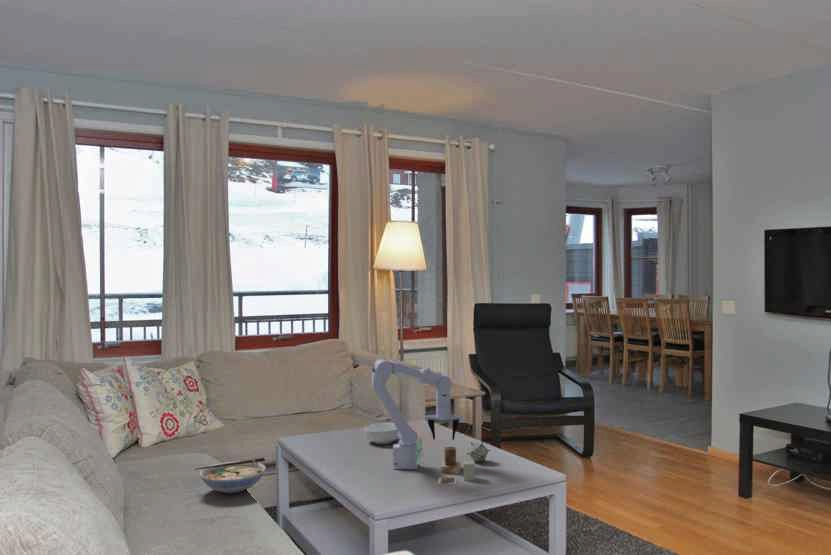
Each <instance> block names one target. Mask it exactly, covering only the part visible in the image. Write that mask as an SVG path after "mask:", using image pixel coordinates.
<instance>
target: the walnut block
mask: <svg viewBox="0 0 831 555" xmlns="http://www.w3.org/2000/svg"><path fill="white" fill-rule="evenodd" d="M444 461H445V465H446V466H449V465H456V461H457V449H456V446H445V447H444Z"/></svg>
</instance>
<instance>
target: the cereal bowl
mask: <svg viewBox="0 0 831 555" xmlns="http://www.w3.org/2000/svg"><path fill="white" fill-rule="evenodd" d="M363 431H364V432H363V433H364V435H365V437H366V439H367V440H369V441H370V442H373V443H375V444H377V445H389V444H391V443H393V442H394V441H396V440H398V439H400V438H399V437H398V434H397V429H396V427H395V425H394V423H393V422H378V423H372V424H368V425H366V426H365V427H364V428H363Z"/></svg>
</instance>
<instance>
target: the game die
mask: <svg viewBox="0 0 831 555" xmlns="http://www.w3.org/2000/svg"><path fill="white" fill-rule="evenodd" d="M470 444H471V445H470V448H469V451H468V452H466V455H469V456H470V458H471V459H472V461H475V463H476V462H485V463H487V460H486V459H487V456H488V452H491V449H488V448H487V447H486V446H485V444H484V443H483V440H481V442H474V443H473V442H472V441H471V442H470Z"/></svg>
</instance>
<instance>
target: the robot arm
mask: <svg viewBox="0 0 831 555" xmlns="http://www.w3.org/2000/svg"><path fill="white" fill-rule="evenodd" d="M399 373H400V374H403V375H407V376H411V377H414V378H416V379H417V380H418V382H419V383H421V384H425V385H427V386H430V387H433V388H435V408H436V409H435V412H436V414H430V415H424V421H425V422H427V424H428V427H429V429H430V432H431V435H432V440H436V434H435V433H436V432H435V430H436V429H435V424H436V423H435V422H452V434H451V435H452V440H453V441H454V440H455V436H456V433H457V432H456V431H457V428H458V427H459V424H460V422H462V420H463V419H462V415H458V414H451V388H452V386H453V382H452V380H451V378H450V377H449V376H447V375H446V374H443V373H442V372H439V371H438V372H436V371H433V370H431V368H429V367H426V368H425V367H424V368H421V369H417V368H414V367H412V366H409V365H406V364H404V363H401V362H398V361H394V360H390V359H387V360H386V359H384V358H378V359H376V360H375V361H374V363H373V364H372V368H371V388H372V390H373V392H374V394H375V396H376V397H377V398H378V400H379V401H380V403H381V405H382V407H383V408H384V411H386V413H387V416H389V418H390V420H391V423H394V425H395V427H396V429H397V434H398V437H399V438H398V439H399V441H398V443H395V444H393V445H392V448H393V449H392V469H393V470H418V467H419V462H418V460H417V458H418V454H417V453H418V451H417V450H418V448H417V444H418V443H417V441H418V439H419V438H418V433H417V431H415V430H414V429H413V428H412V427H411V426H410V424H408V422H407V420H406V419H405V418H404V415H403V414H402V412H401V411H400V409H399V408H398V405H397V403H396V402H395V401H394V399H393V397H392V396H391V394H390V392H389V391H388V389H387V387H386V385H387V382H388V380H389V378H390V377H391V376H392V375H397V374H399Z"/></svg>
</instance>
